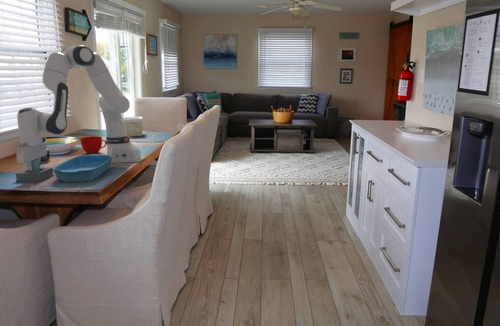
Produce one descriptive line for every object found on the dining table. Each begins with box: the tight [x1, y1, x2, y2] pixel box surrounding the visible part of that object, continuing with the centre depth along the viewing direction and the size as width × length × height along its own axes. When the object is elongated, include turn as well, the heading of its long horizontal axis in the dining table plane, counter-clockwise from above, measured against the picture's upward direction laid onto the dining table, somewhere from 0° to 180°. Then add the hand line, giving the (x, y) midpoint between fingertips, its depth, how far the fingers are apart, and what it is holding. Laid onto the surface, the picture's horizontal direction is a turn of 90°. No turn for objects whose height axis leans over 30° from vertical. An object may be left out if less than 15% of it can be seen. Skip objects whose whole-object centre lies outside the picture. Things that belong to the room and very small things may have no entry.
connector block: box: [28, 159, 41, 172], centre depth 202 cm, size 4×4×7 cm
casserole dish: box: [51, 153, 112, 183], centre depth 209 cm, size 37×22×7 cm, turn 179°
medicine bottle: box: [40, 141, 51, 163], centre depth 239 cm, size 7×7×12 cm
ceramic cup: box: [79, 136, 107, 155], centre depth 260 cm, size 13×17×10 cm
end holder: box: [15, 166, 54, 182], centre depth 203 cm, size 12×12×4 cm
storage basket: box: [122, 115, 143, 138], centre depth 326 cm, size 24×16×15 cm
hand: (34, 168), depth 202 cm, fingers closed on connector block, 4 cm apart
